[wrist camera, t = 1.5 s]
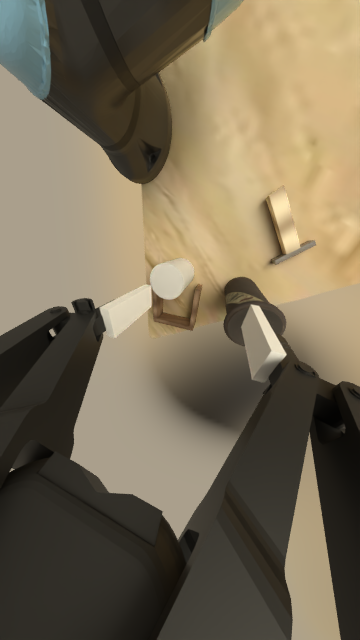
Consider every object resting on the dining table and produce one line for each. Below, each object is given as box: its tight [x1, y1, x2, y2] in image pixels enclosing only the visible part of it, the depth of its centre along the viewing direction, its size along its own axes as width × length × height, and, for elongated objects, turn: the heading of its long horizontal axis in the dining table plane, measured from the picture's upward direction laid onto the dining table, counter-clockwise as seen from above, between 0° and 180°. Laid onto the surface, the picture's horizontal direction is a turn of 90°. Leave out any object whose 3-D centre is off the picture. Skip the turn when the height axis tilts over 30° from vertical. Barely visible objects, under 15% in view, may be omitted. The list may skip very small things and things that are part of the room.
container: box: [224, 277, 286, 346], centre depth 28 cm, size 9×9×20 cm
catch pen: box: [153, 284, 202, 330], centre depth 41 cm, size 14×14×5 cm
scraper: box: [266, 185, 316, 265], centre depth 27 cm, size 13×7×2 cm, turn 34°
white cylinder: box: [150, 258, 194, 300], centre depth 34 cm, size 8×8×12 cm
